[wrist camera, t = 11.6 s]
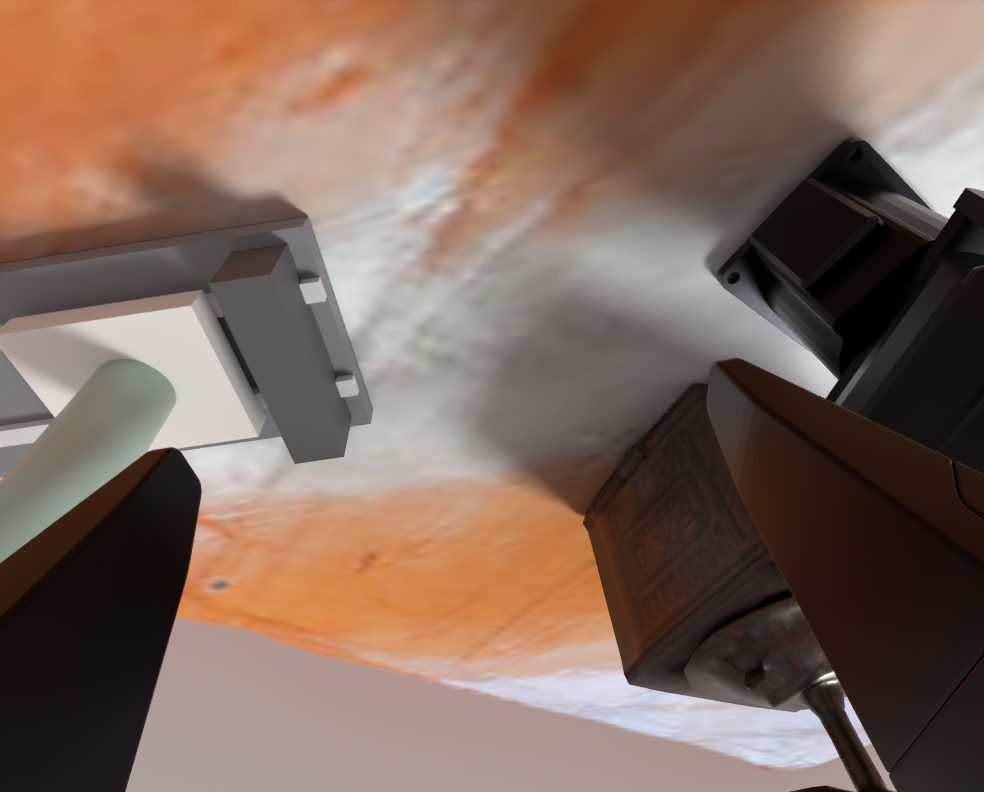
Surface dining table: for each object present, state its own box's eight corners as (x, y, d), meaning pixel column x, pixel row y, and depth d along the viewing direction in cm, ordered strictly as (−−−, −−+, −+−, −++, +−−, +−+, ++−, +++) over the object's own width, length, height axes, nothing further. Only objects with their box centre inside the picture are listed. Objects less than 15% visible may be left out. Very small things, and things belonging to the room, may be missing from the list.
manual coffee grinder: (684, 370, 26) (989, 881, 11) (853, 440, 29) (1247, 898, 15) (523, 566, 34) (583, 1008, 19) (670, 602, 37) (812, 999, 23)
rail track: (308, 216, 20) (286, 256, 17) (372, 409, 26) (364, 463, 23) (-201, 294, 21) (-301, 345, 18) (-31, 468, 26) (-88, 527, 23)
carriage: (203, 289, 20) (44, 502, 12) (265, 417, 24) (176, 646, 16) (11, 318, 20) (-268, 547, 12) (103, 441, 24) (-66, 679, 16)
